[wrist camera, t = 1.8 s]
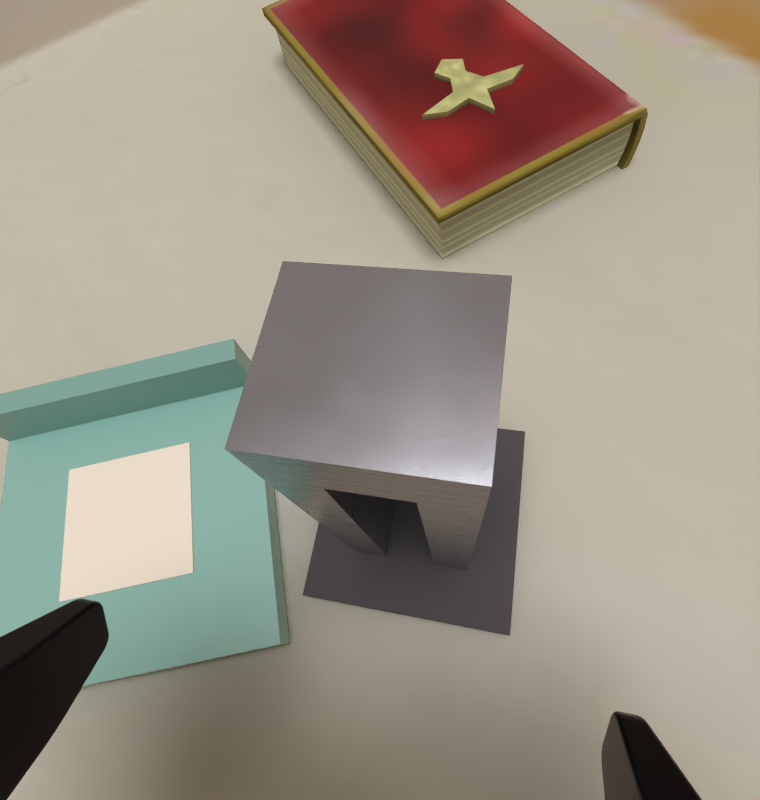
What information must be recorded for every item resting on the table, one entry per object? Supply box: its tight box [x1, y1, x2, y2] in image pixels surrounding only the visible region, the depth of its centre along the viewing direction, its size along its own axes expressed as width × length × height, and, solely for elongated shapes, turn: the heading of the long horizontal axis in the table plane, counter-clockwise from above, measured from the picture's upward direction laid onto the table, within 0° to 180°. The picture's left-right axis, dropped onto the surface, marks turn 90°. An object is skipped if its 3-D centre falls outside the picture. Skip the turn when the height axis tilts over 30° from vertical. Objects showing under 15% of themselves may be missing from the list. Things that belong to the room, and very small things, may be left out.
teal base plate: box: [0, 339, 290, 687], centre depth 21 cm, size 12×12×4 cm
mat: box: [303, 428, 525, 635], centre depth 21 cm, size 8×8×1 cm
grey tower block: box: [224, 261, 512, 570], centre depth 15 cm, size 4×4×13 cm
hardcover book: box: [262, 0, 648, 259], centre depth 30 cm, size 12×21×4 cm, turn 29°
